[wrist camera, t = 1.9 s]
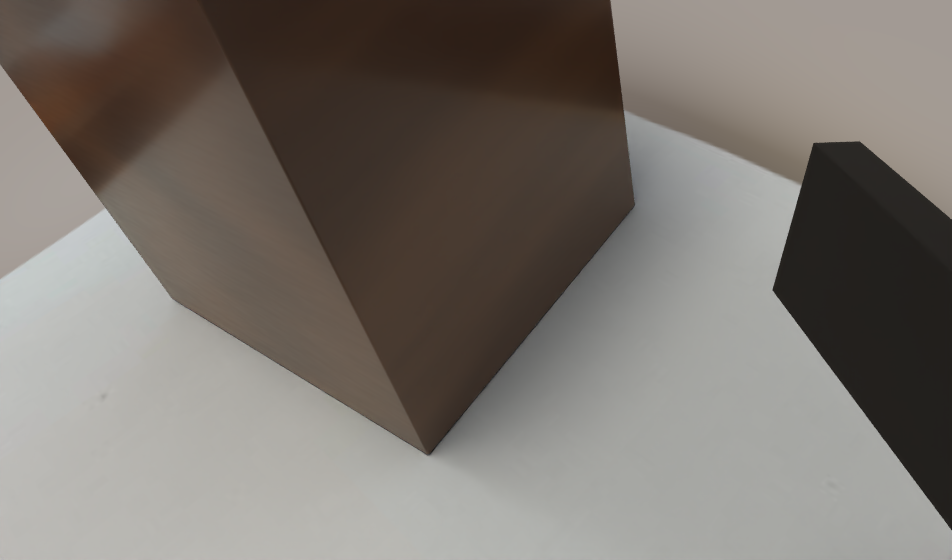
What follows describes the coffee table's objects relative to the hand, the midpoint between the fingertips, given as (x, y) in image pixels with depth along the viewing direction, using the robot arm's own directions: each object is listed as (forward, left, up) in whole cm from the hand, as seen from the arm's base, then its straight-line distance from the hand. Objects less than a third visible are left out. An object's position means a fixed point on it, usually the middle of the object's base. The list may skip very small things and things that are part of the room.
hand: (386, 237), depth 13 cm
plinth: (+19, -12, -21) cm, 31 cm away
